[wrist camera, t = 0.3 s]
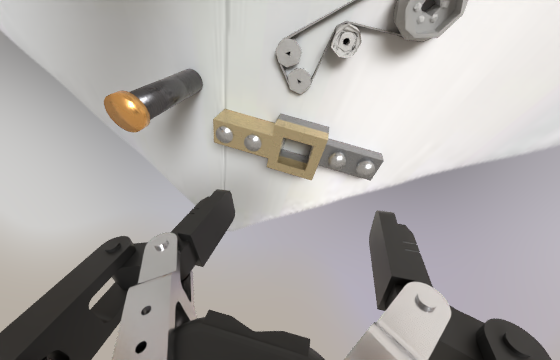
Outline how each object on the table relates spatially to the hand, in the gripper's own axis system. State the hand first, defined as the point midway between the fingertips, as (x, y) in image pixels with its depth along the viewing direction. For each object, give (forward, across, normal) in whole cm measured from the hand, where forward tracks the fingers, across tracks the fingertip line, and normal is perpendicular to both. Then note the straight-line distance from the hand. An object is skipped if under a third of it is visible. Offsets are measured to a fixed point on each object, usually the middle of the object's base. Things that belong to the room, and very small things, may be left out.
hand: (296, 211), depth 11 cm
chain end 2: (+23, 0, +6) cm, 24 cm away
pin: (+21, +20, -4) cm, 29 cm away
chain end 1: (+22, +8, +4) cm, 24 cm away
